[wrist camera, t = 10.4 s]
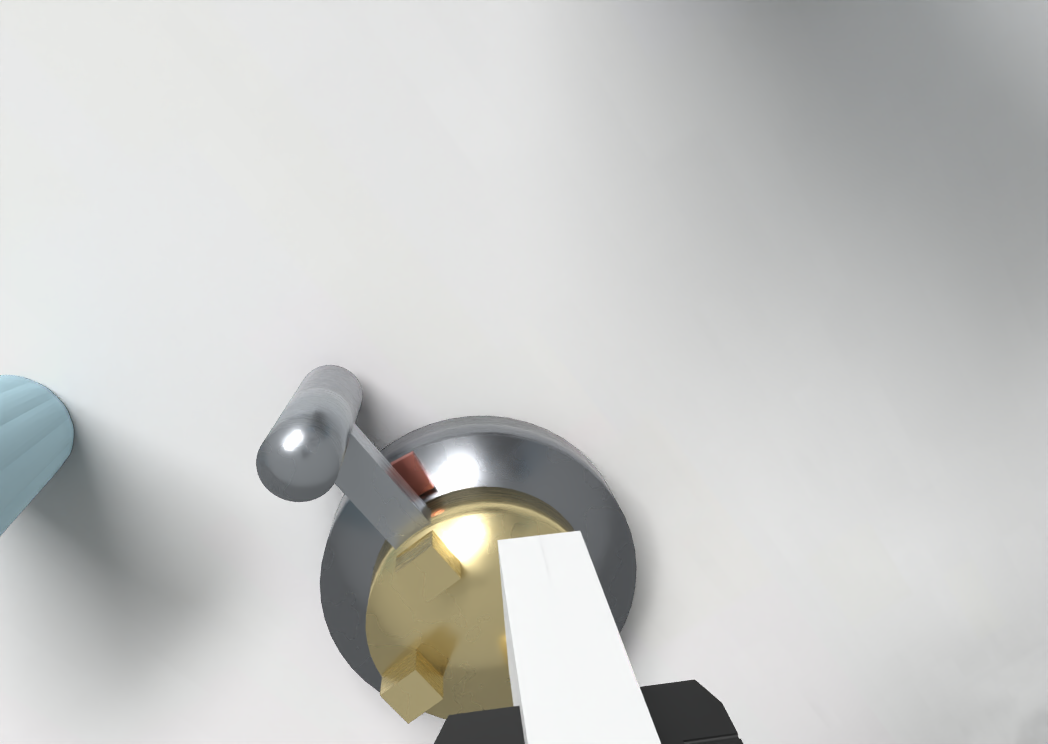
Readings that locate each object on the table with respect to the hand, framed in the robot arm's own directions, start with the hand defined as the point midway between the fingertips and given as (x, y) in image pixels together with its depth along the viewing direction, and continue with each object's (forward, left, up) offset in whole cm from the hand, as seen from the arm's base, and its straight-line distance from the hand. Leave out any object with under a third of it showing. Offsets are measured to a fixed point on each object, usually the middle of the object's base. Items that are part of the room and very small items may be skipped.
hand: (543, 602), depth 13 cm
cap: (+9, +8, -25) cm, 28 cm away
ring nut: (+8, +4, -24) cm, 25 cm away
